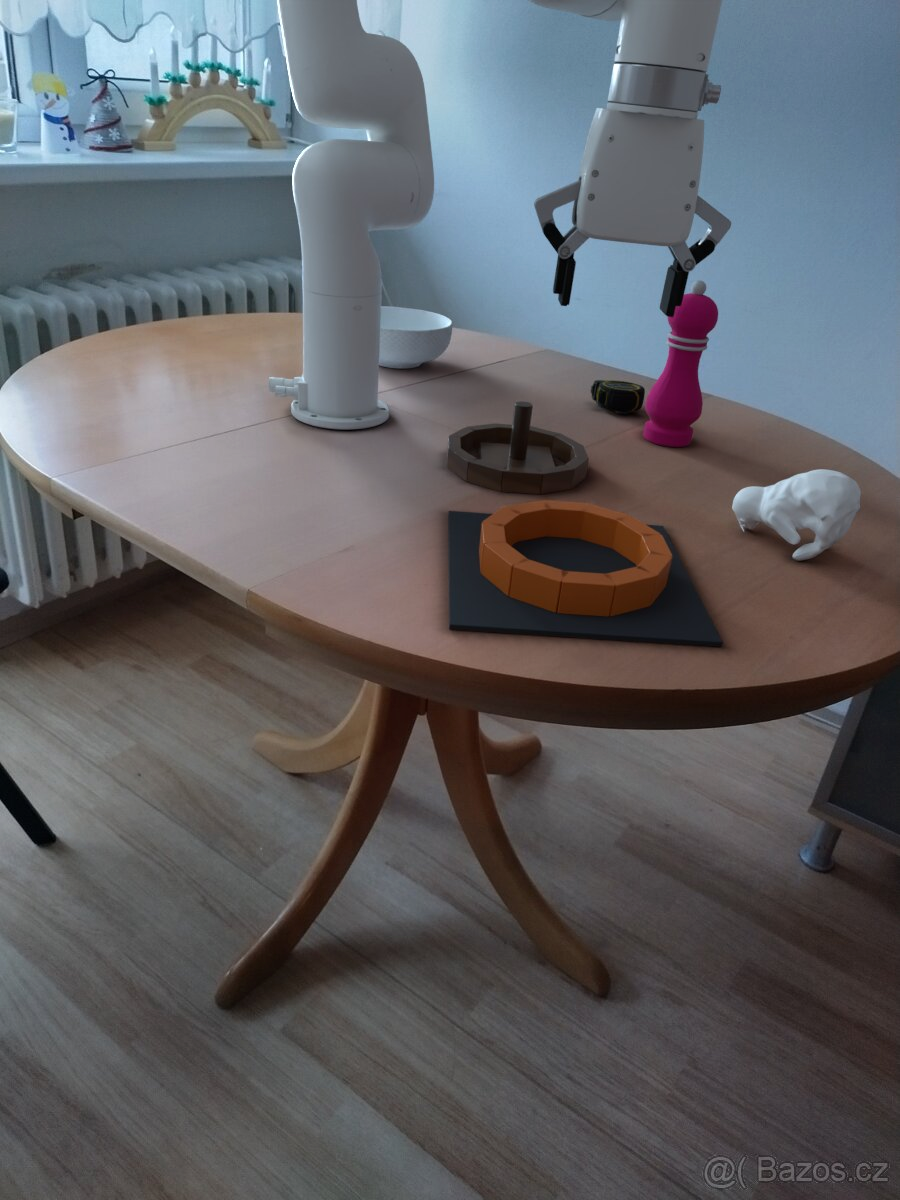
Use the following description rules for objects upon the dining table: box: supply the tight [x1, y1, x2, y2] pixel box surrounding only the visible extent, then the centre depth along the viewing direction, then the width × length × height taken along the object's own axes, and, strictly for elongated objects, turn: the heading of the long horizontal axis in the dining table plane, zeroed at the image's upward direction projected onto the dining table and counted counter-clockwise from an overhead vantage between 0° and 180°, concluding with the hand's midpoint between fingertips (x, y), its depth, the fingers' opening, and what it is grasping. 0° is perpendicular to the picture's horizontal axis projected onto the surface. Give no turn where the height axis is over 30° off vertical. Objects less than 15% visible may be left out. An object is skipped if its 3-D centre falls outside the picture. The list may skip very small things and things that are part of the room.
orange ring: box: [479, 499, 673, 617], centre depth 77 cm, size 17×17×3 cm
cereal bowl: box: [379, 305, 454, 370], centre depth 135 cm, size 17×17×7 cm
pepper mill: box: [642, 279, 719, 448], centre depth 109 cm, size 7×7×20 cm
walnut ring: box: [446, 422, 589, 495], centre depth 100 cm, size 16×16×2 cm
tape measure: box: [590, 379, 646, 414], centre depth 122 cm, size 7×7×4 cm
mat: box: [447, 510, 724, 648], centre depth 78 cm, size 22×22×1 cm
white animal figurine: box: [731, 468, 862, 561], centre depth 86 cm, size 6×8×12 cm
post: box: [478, 400, 556, 469], centre depth 99 cm, size 8×8×8 cm
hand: (614, 308), depth 80 cm, fingers open, 9 cm apart
